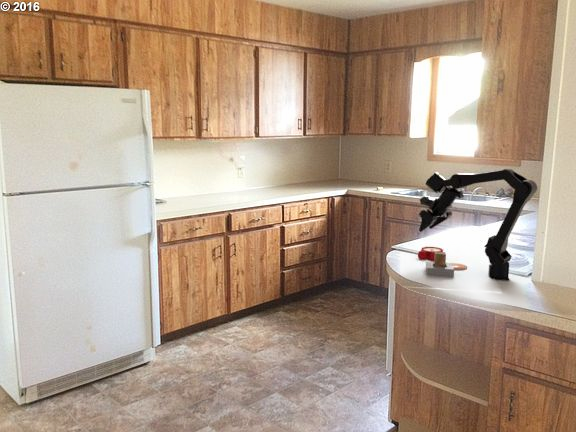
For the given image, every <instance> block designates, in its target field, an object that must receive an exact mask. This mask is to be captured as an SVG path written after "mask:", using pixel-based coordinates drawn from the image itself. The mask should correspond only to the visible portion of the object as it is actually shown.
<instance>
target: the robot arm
mask: <svg viewBox="0 0 576 432" xmlns="http://www.w3.org/2000/svg"><path fill="white" fill-rule="evenodd" d="M496 181H505V182H506V183H507V184H508V185H509V187H511V188H512V189H513V190H514V191H513V196H512V202H511V205H510V207H509V209H508V210H507V213H506V215H505V217H504V219H503V221H502V223H501V225H500V227H499V229H498V230H497V232H496V235H492V236H490V237H488V239H487V242H486V244H485V245H484V248H485V249H484V253H485V255H486V257H487V258H488V261H489V264H488V274H487V275H488V277H489V278H490V279H492V280H498V281H510V277H509V274H510V261H511V259H512V258H513V257H512V255H511V254H510V252H509V251H508V250H507V248H508V243H509V237H510V235H511V233H512V231H513V230H514V227H515V225H516V223H517V221H518V219H519V218H520V215H521V214H522V212H523V209H524V207H525V206H526V205H527V203H528V202H529V201H530V200H531V199H532V198H533V196H534V195H535V193H536V192H537V191H538V186H537V183H536V182H535V181H534V180H532V179H527V178H526V177H525V176H523V175H521V174H520V173H517V172H515V170H513V169H512V168H505V169H500V170H495V171H488V172H487V171H486V172H480V173H472V172H471V173H470V172H469V173H468V172H461V173H455V174H452V175H451V176H450V178H445V177H444V176H442V175H441V174H440V173H439V172H437V171H436V172H434V174H431V176H430V177H429V178H427V180H426V182H425V186H427V187H428V188H429V189H430V190H431V191H433V192H434V193H435V194H438V193H440V195H439V197H437V198H435V197H432V196H429V195H423V196H421V197H420V199H419V201H420V202H419V204H420V205H421V206H426V207H428V209H427V208H425V209H422V210H420V212H419V213H418V215H419V217H420V218H421V222H420V225H419V229H418V231H419V232H420V233H422V232H423V231H425V230H426V229H427V228H429V229H430V230H431V229H433V228H435V227H437V226H438V225H440V224H442V223H444V222H445V221H447V220H448V219H450V218H451V216H452V213H453V212H452V211H451V210H450V209H451V208H452V207H453V204H454V202H455V201H456V199H457V198H458V199H462V198H464V197H465V196H464V194H463V193H464V190H459V189H462V188H466V187H470V186H472V185H475V184H481V183H489V182H496Z"/></svg>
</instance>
